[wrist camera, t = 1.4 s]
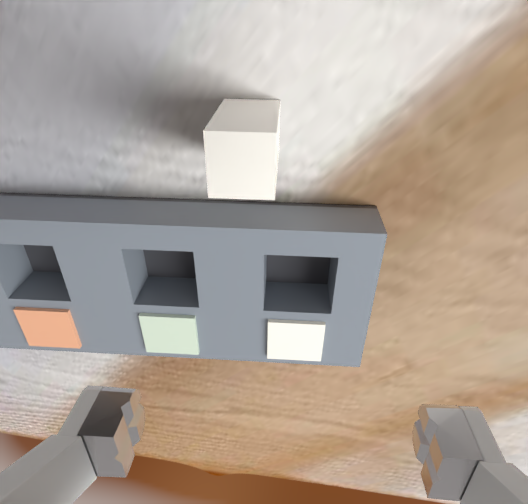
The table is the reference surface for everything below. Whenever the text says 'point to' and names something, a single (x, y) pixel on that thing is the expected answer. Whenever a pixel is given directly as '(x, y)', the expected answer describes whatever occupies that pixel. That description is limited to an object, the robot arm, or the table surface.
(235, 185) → the plug
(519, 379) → the table surface
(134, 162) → the table surface
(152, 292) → the socket block
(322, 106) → the table surface
